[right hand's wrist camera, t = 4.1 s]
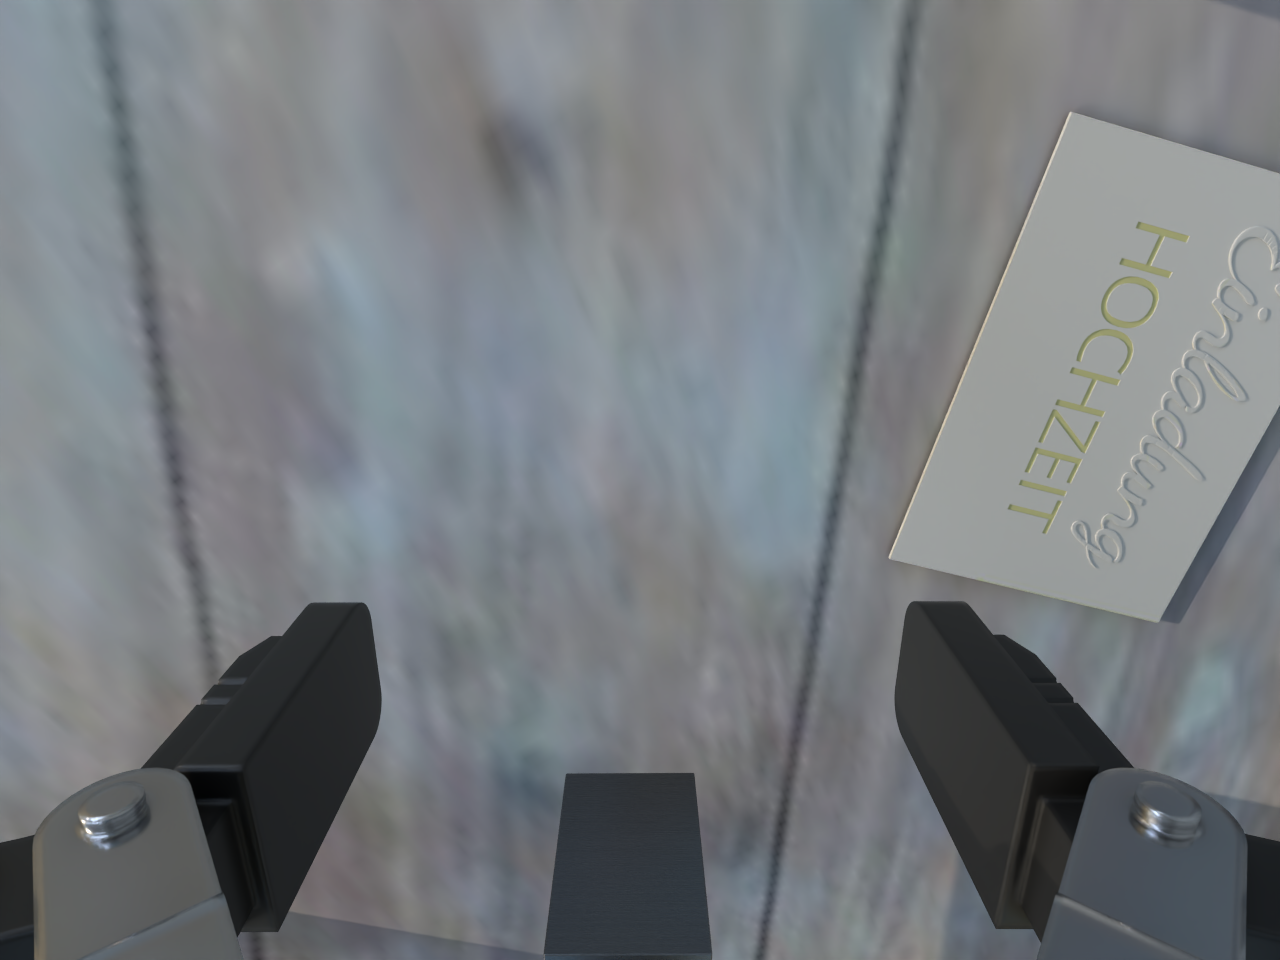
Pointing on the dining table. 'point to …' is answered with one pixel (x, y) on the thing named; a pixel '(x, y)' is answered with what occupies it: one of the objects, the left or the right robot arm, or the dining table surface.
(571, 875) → the bar
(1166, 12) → the dining table surface
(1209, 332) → the invitation card
